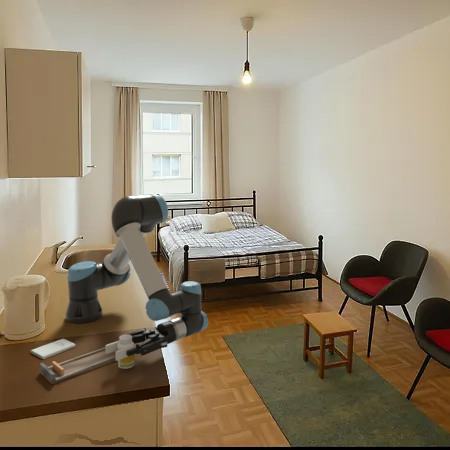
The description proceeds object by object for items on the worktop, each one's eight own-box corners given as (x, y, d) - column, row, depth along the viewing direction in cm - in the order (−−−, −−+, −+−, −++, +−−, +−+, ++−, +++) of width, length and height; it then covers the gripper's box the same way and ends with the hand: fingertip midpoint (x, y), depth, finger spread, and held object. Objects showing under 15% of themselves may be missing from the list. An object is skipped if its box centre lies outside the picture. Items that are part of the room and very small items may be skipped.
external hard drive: (30, 354, 142) (63, 341, 152) (43, 361, 137) (75, 348, 147) (30, 349, 142) (62, 337, 151) (43, 356, 137) (75, 343, 147)
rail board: (40, 372, 128) (39, 363, 128) (108, 348, 145) (108, 340, 145) (52, 384, 121) (51, 375, 121) (122, 358, 138) (122, 349, 138)
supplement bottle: (138, 364, 131) (137, 336, 130) (124, 371, 127) (123, 342, 126) (128, 359, 135) (127, 331, 133) (114, 365, 131) (113, 336, 129)
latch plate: (52, 368, 130) (52, 361, 129) (54, 367, 130) (54, 360, 130) (61, 376, 125) (61, 369, 124) (64, 375, 125) (63, 368, 125)
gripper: (187, 350, 137) (127, 375, 121) (155, 333, 150) (97, 353, 133) (187, 329, 136) (126, 351, 119) (155, 314, 148) (96, 332, 132)
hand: (111, 352), depth 126 cm, fingers closed on supplement bottle, 5 cm apart
